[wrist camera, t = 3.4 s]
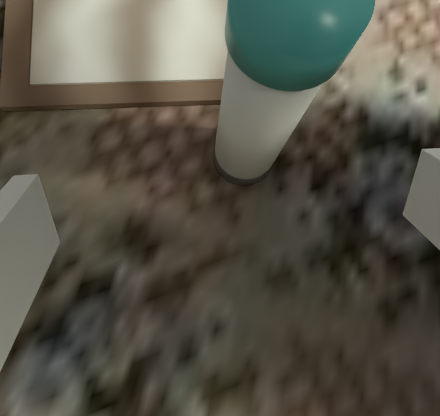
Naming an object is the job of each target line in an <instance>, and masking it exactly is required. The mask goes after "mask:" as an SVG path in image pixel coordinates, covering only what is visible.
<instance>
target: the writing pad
mask: <svg viewBox="0 0 440 416" xmlns="http://www.w3.org/2000/svg"><path fill="white" fill-rule="evenodd" d="M227 2H228V0H6V6H5V21H4V36H3V51H2V65H1V80H0V109H1V110H2V111H34V110H64V109H94V108H123V107H153V106H183V105H212V104H221V97H222V89H223V81H224V74H225V66H226V59H227V51H228V49H227V46H226V41H225V21H226V12H227Z"/></svg>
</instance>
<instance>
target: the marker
mask: <svg viewBox="0 0 440 416" xmlns="http://www.w3.org/2000/svg"><path fill="white" fill-rule="evenodd" d="M374 6H375V0H228V2H227V12H226V21H225V41H226V46H227V49H228V51H227V59H226V66H225V74H224V81H223V89H222V97H221V104H220V112H219V120H218V127H217V135H216V141H215V145H214V152H213V160H214V164H215V167H216V169H217V171H218V172H219V174H220V175H221V176H222V177H223V178H224V179H226V180H227V181H229V182H231V183H233V184H237V185H251V184H254V183H257V182H259V181H260V180H262V179H263V178H264V177H265V176H266V175H267V174H268V172H269V171H270V169H271V167H272V166H273V164H274V161H275V160H276V158H277V156H278V155H279V153H280V152H281V150H282V148H283V147H284V145H285V144H286V142H287V140H288V139H289V137H290V136H291V134H292V132H293V131H294V129H295V128H296V126H297V124H298V123H299V121H300V120H301V118H302V116H303V115H304V113H305V112H306V110H307V108H308V107H309V105H310V104H311V102H312V100H313V99H314V97H315V96H316V94H317V92H318V91H319V89H320V88H321V86H322V84H323V83H324V82H326V81H327V80H328V79H330V78H331V77H332V76H333V75H334V74H335V73H336V72H337V70H338V69H339V68H340V66H341V65H342V63H343V62H344V60H345V59H346V57H347V56H348V54H349V53H350V51H351V50H352V48H353V47H354V45H355V44H356V42H357V41H358V39H359V37H360V36H361V34H362V33H363V31H364V30H365V28H366V27H367V25H368V23H369V21H370V20H371V17H372V14H373V11H374Z"/></svg>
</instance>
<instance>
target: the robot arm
mask: <svg viewBox="0 0 440 416" xmlns="http://www.w3.org/2000/svg"><path fill="white" fill-rule="evenodd" d="M403 216H404V217H405V218H406V219H407V220H408V221H410V222H411V223H412V224H413V225H414V226H415V227H416V228H417V229H418V230H419V231H420V232H421V233H422V234H423V235H424V236H425V237H426V238H427V239H428V240H429V241H430V242H431V243H433V244H434V245H435V246H436V247H437V248H438V249H439V250H440V148H432V149H422V150H421V154H420V157H419V161H418V164H417V167H416V171H415V174H414V177H413V181H412V184H411V188H410V191H409V194H408V198H407V201H406V205H405V208H404V211H403ZM59 244H60V240H59V237H58V234H57V231H56V228H55V224H54V221H53V218H52V215H51V212H50V209H49V206H48V203H47V199H46V196H45V193H44V190H43V187H42V184H41V181H40V178H39V175H38V174H30V175H14V176H13V177H12V178H11V179H10V180H9V181H8V182H7V183H6V185H5V186H4V187H3V188H2V189H1V190H0V371H1V369H2V367H3V365H4V363H5V360H6V358H7V356H8V354H9V352H10V350H11V348H12V345H13V343H14V341H15V339H16V337H17V335H18V332H19V330H20V328H21V326H22V324H23V322H24V320H25V317H26V315H27V313H28V311H29V309H30V307H31V304H32V302H33V300H34V298H35V296H36V294H37V292H38V289H39V287H40V285H41V283H42V281H43V279H44V276H45V274H46V272H47V270H48V268H49V266H50V264H51V261H52V259H53V257H54V255H55V253H56V251H57V248H58V246H59Z"/></svg>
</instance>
